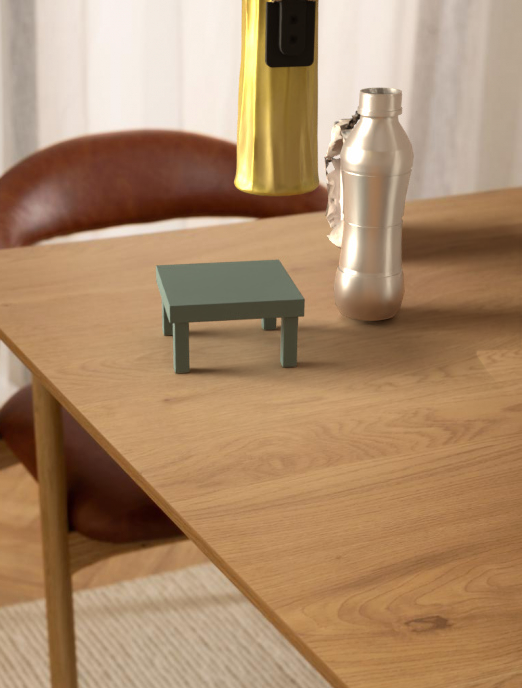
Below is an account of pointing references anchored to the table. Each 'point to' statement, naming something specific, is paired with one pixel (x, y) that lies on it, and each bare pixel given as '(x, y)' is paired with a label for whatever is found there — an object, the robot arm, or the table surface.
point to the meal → (337, 177)
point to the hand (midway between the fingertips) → (279, 56)
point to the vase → (275, 116)
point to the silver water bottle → (373, 209)
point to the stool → (229, 301)
